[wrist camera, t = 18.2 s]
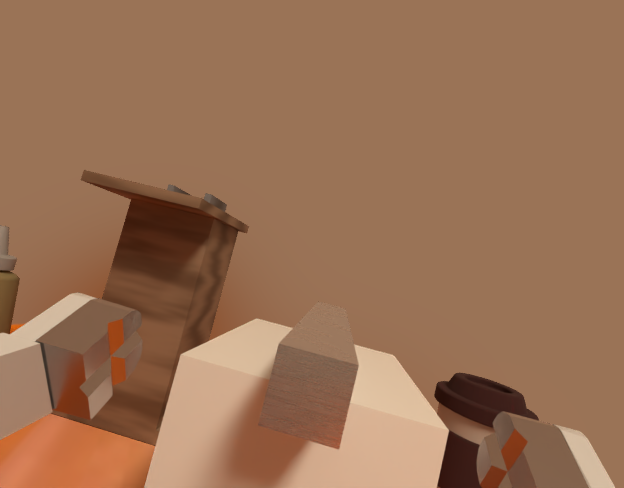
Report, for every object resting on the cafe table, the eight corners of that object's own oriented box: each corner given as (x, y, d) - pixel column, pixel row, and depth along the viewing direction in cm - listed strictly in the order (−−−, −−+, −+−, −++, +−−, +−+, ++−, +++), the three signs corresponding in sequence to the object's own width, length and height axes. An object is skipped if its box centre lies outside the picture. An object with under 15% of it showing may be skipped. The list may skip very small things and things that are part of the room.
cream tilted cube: (373, 785, 17) (448, 430, 18) (91, 678, 18) (180, 354, 19) (355, 523, 34) (393, 355, 36) (214, 479, 36) (256, 318, 37)
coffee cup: (534, 579, 33) (565, 412, 34) (426, 551, 33) (461, 386, 34) (483, 509, 43) (509, 381, 44) (400, 487, 43) (428, 361, 44)
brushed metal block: (338, 449, 13) (358, 365, 13) (257, 425, 13) (278, 343, 13) (338, 336, 39) (345, 308, 39) (311, 329, 39) (318, 301, 39)
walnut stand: (143, 490, 32) (227, 182, 34) (-20, 437, 33) (71, 145, 35) (213, 414, 50) (265, 216, 52) (105, 382, 51) (160, 190, 53)
